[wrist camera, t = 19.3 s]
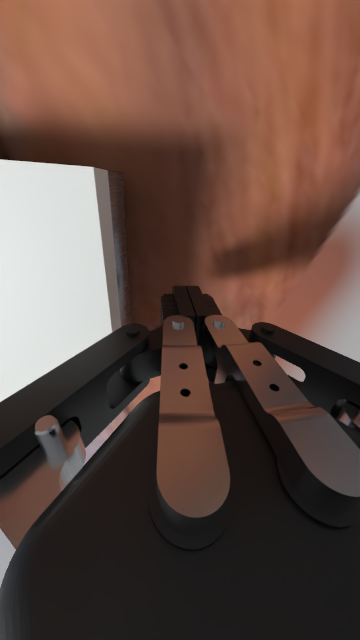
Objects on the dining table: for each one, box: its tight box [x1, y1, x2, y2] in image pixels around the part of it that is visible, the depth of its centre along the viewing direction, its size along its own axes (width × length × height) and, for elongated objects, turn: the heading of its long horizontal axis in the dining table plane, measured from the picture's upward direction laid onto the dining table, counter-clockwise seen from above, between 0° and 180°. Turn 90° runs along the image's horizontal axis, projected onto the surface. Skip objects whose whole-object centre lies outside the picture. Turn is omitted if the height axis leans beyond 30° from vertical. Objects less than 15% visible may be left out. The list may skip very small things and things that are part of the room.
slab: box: [0, 159, 121, 402], centre depth 11 cm, size 10×12×3 cm
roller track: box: [108, 171, 131, 327], centre depth 14 cm, size 13×12×3 cm
